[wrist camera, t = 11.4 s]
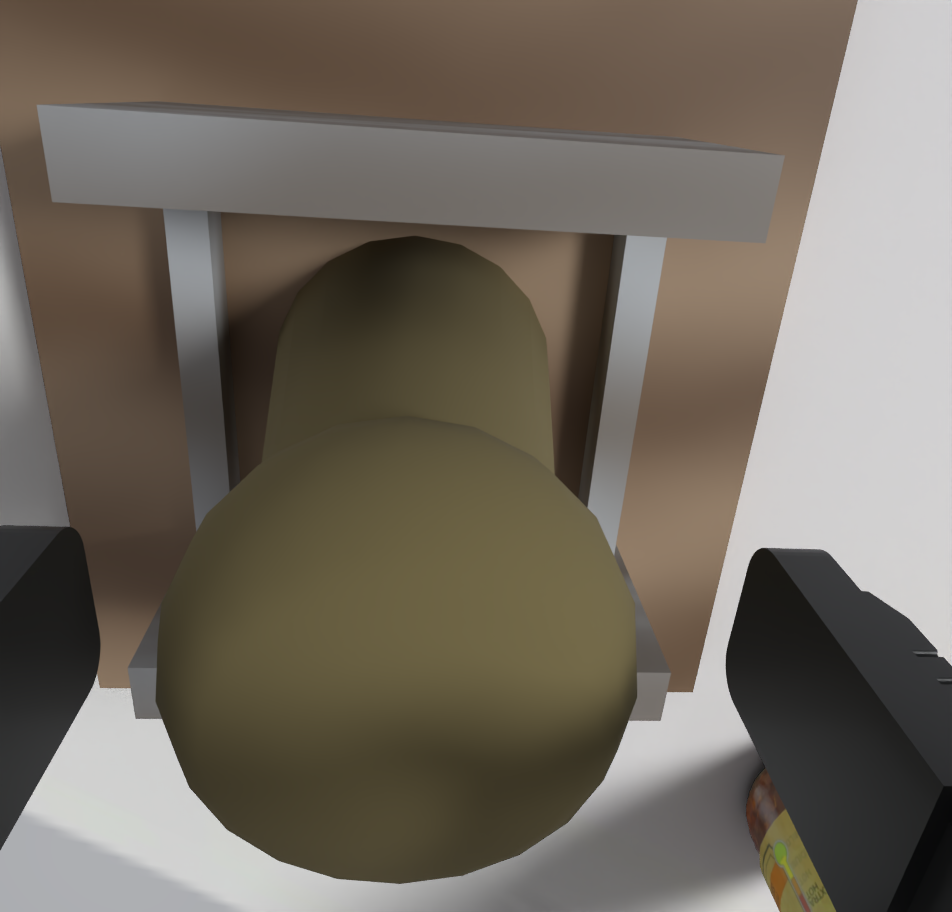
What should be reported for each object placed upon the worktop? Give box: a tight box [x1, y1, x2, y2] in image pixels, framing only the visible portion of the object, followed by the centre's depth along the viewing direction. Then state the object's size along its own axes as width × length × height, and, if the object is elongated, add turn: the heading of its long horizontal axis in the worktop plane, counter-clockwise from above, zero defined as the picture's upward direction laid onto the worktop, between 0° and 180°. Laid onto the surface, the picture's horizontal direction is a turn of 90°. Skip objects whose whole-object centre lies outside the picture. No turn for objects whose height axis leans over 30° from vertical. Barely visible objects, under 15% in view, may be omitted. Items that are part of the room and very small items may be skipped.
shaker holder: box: [0, 0, 858, 721], centre depth 15 cm, size 18×16×6 cm
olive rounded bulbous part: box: [155, 235, 637, 884], centre depth 12 cm, size 6×6×11 cm
